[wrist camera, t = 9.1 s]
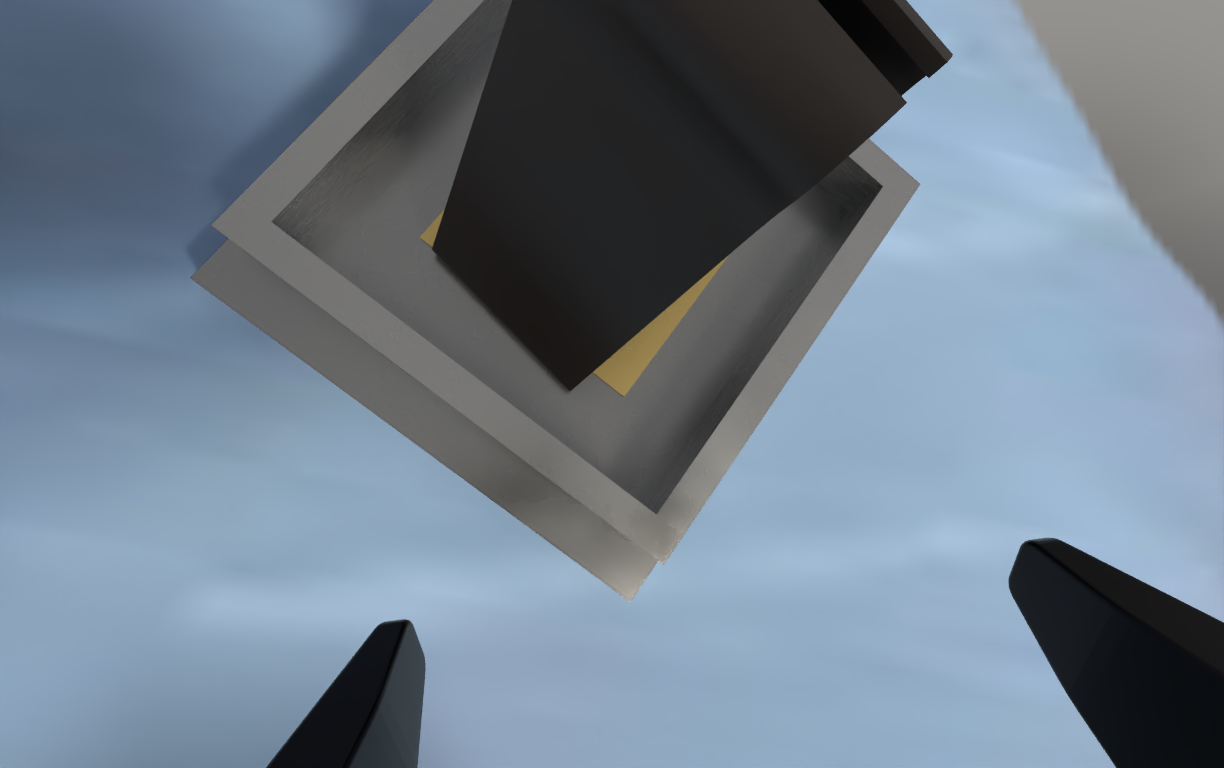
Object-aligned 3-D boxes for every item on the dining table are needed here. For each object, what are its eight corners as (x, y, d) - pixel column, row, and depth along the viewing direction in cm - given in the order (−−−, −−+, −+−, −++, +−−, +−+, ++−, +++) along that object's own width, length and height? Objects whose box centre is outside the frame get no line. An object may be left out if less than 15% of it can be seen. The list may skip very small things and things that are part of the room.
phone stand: (634, 82, 20) (836, -423, 8) (753, 214, 20) (1105, -91, 9) (431, 252, 18) (326, -95, 6) (567, 393, 19) (701, 308, 7)
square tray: (622, 594, 19) (647, 620, 16) (206, 287, 18) (150, 256, 15) (893, 197, 23) (952, 161, 20) (567, -89, 21) (580, -173, 18)
